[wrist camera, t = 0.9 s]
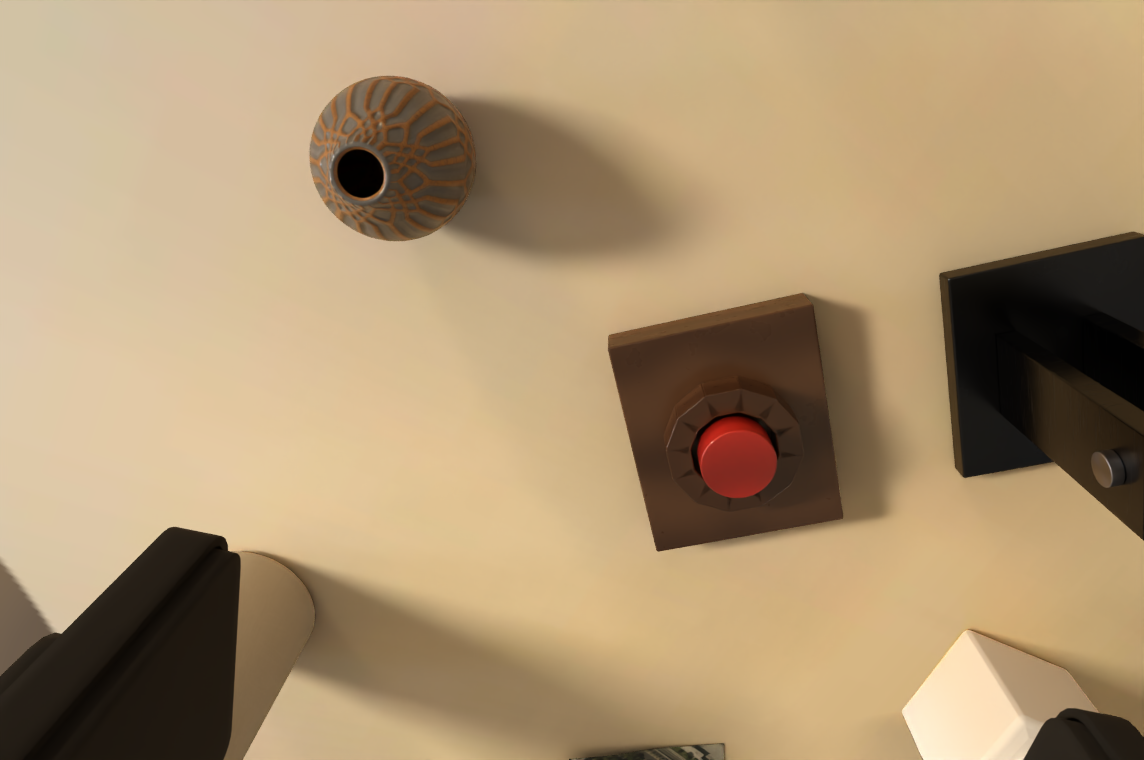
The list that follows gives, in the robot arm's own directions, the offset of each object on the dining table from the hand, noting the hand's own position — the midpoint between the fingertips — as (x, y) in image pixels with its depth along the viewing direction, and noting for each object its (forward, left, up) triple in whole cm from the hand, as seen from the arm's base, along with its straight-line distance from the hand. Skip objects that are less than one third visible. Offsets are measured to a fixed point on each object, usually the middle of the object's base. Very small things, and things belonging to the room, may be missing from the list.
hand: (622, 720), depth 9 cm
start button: (+11, +3, -28) cm, 30 cm away
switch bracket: (+11, +19, -32) cm, 39 cm away
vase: (-6, -9, -32) cm, 33 cm away
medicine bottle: (+32, +15, -32) cm, 48 cm away
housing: (+11, +3, -32) cm, 34 cm away
